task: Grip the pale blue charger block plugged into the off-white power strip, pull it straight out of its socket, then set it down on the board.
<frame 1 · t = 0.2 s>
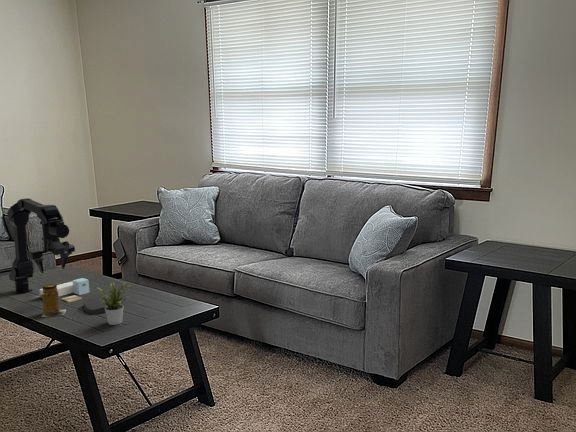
hand: (52, 270, 233), 14 cm above the table, tool pointing down, fingers open, 9 cm apart
media streaming box: (103, 308, 230), on the table
board: (71, 299, 240), on the table
condiment: (54, 314, 223), on the table
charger: (81, 292, 250), on the table
power strip: (63, 293, 249), on the table
house plant: (118, 323, 212), on the table
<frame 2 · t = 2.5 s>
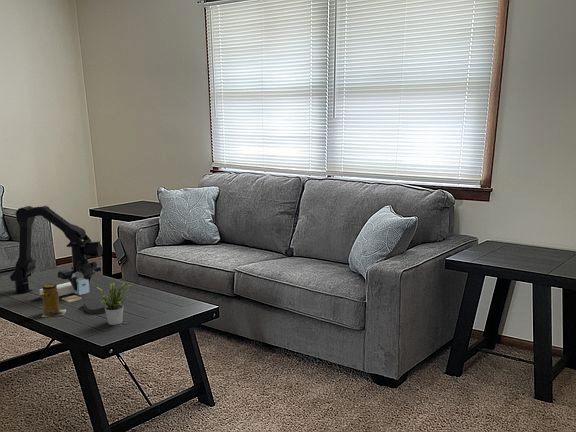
hand: (81, 289, 250), 2 cm above the table, tool pointing down, fingers closed on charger, 5 cm apart
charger: (81, 292, 250), on the table, touching gripper
everything else where it was.
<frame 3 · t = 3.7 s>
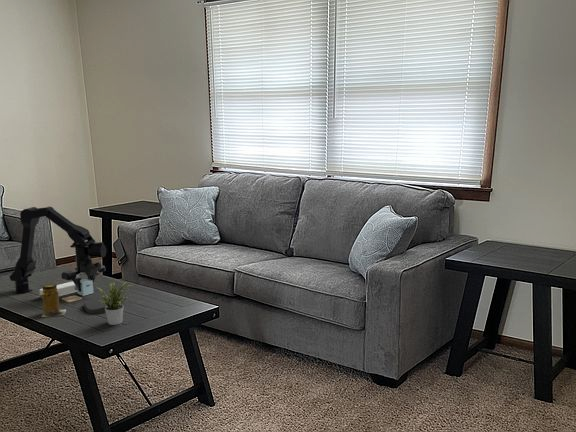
hand: (85, 290, 248), 2 cm above the table, tool pointing down, fingers closed on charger, 5 cm apart
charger: (85, 293, 248), on the table, touching gripper
everything else where it was.
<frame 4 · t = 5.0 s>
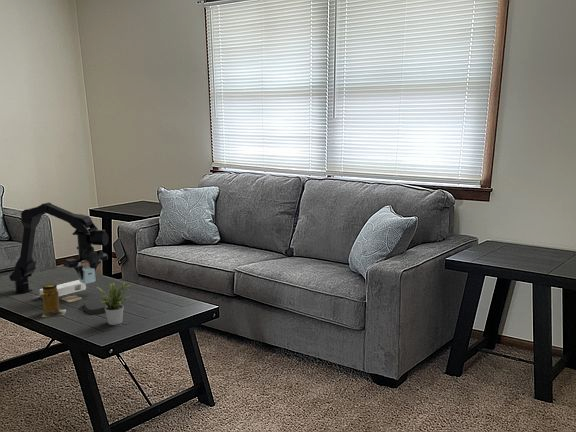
hand: (87, 278, 245), 8 cm above the table, tool pointing down, fingers closed on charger, 5 cm apart
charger: (87, 281, 245), point 6 cm above the table, touching gripper
everything else where it was.
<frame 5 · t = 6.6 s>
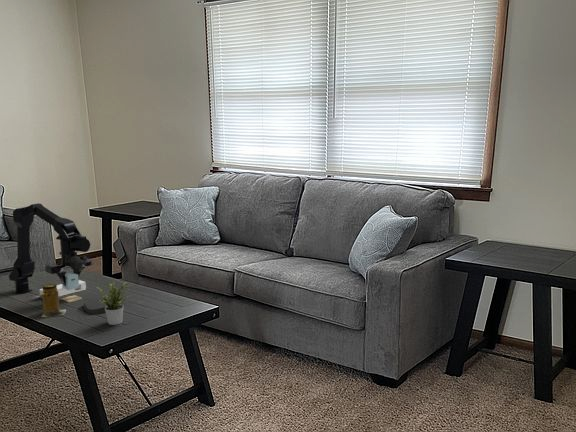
hand: (70, 284, 239), 7 cm above the table, tool pointing down, fingers closed on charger, 5 cm apart
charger: (70, 287, 239), point 5 cm above the table, touching gripper
everything else where it was.
when the fingers open (3 cm above the table, at t = 7.7 s): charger stays where it is, resting on board.
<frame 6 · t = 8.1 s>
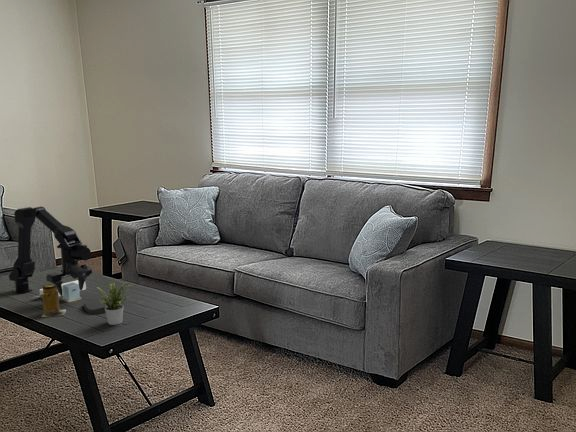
hand: (71, 292, 240), 3 cm above the table, tool pointing down, fingers open, 9 cm apart
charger: (71, 298, 240), point 1 cm above the table, touching board
everything else where it was.
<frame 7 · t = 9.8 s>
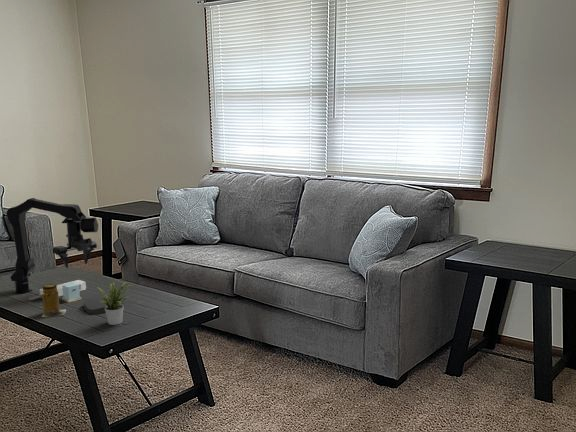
hand: (76, 265, 251), 12 cm above the table, tool pointing down, fingers open, 9 cm apart
nothing on the table moved.
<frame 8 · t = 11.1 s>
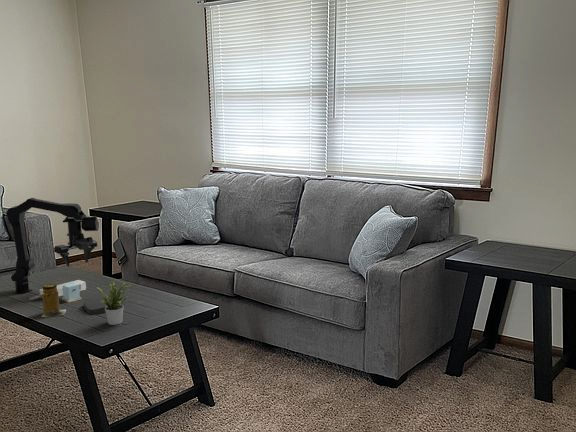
hand: (77, 264, 253), 12 cm above the table, tool pointing down, fingers open, 9 cm apart
nothing on the table moved.
at the end: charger inside the target area on the board (0.0 cm from its centre), point 0.6 cm above the board's base; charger touching board; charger tilted 0° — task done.
